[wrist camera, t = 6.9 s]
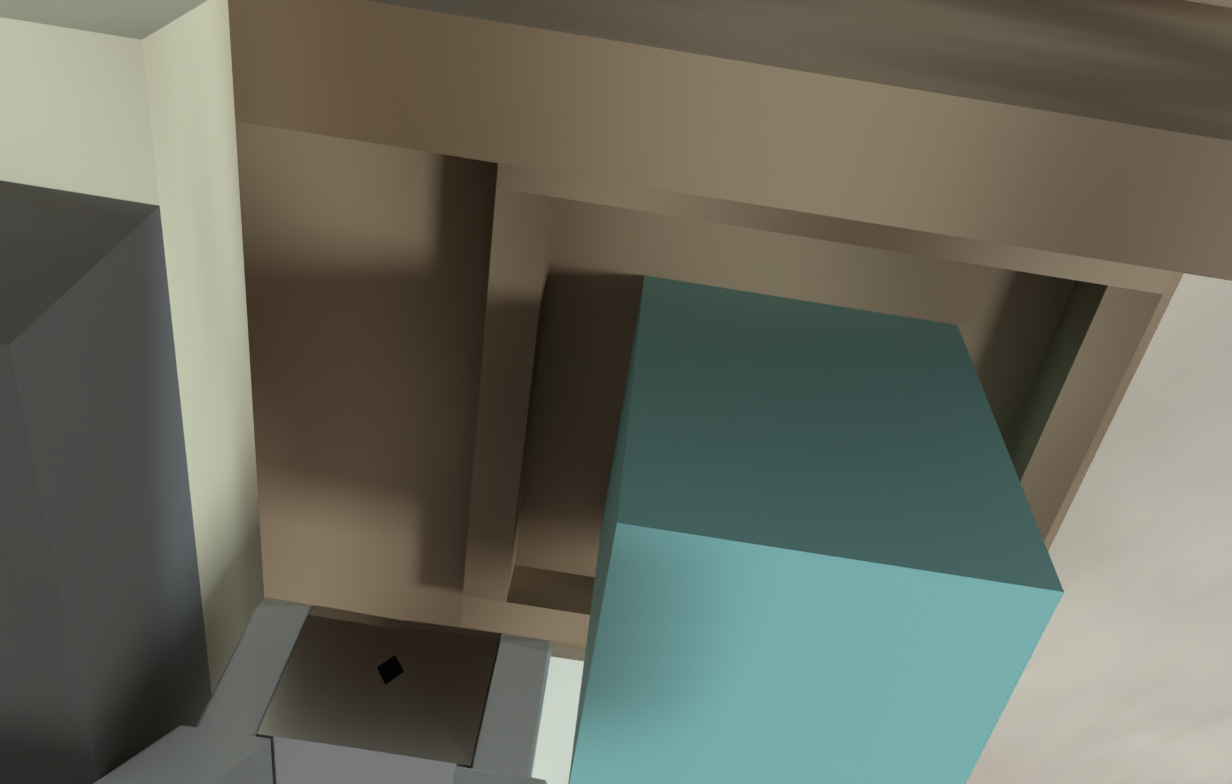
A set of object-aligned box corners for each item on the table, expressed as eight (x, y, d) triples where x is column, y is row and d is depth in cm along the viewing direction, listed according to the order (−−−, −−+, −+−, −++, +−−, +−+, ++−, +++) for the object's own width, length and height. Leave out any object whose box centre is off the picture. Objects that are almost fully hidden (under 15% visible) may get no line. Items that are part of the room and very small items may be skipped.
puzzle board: (34, 787, 27) (-160, 1100, 21) (-256, -316, 14) (-980, -327, 8) (850, 909, 27) (890, 1253, 21) (1301, -59, 14) (1728, 117, 8)
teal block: (602, 517, 19) (565, 801, 14) (644, 274, 17) (616, 523, 12) (871, 558, 20) (928, 856, 14) (957, 325, 17) (1063, 591, 12)
